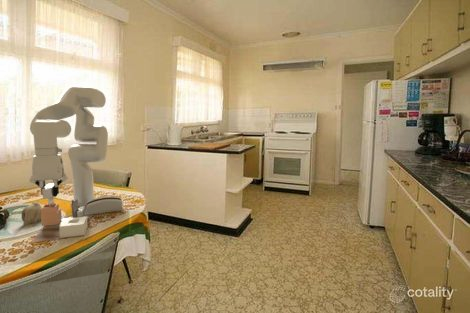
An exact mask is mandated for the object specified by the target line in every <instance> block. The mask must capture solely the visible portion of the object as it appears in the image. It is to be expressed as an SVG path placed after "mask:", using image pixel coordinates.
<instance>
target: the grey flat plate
mask: <svg viewBox="0 0 470 313" xmlns="http://www.w3.org/2000/svg"><path fill="white" fill-rule="evenodd" d="M91 220H92V217H91V216H89V219H88V221H87V225H88V226H89V225H90V222H91ZM41 227H42V228H41V229H40V230H39V231H38V232H37V234H36V235H35V236H34V238H33V239H32V240H31V241H30V243H38V242H47V241H55V240H56V241H57V240H64V239H72V238H73V239H74V238H82V237H85V235H81V236H72V237H64V238H60V229H59V228H55V229H45V230H43V227H44V226H41Z"/></svg>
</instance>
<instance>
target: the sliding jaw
mask: <svg viewBox="0 0 470 313" xmlns="http://www.w3.org/2000/svg"><path fill="white" fill-rule="evenodd" d="M61 219H63V218H62V209H61V208H60V206H59V202H57V203H55V202H54V207H48V203H45V204H43V205H42V206H41V220H40V221H41V227H43V226H48V225H57V224H59V222H60V221H61Z"/></svg>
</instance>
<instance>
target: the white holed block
mask: <svg viewBox="0 0 470 313" xmlns="http://www.w3.org/2000/svg"><path fill="white" fill-rule="evenodd" d="M65 218H66V219H64V220H63V222H62V223H61V225H60V226H59V229H60V238H64V237H72V236H81V235H84V236H85V234H86V232H87V230H88V227H89V225H87V217H76V218H73V217H65Z"/></svg>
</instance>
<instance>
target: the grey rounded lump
mask: <svg viewBox="0 0 470 313" xmlns="http://www.w3.org/2000/svg"><path fill="white" fill-rule="evenodd" d="M41 207H42V206H41V204H40V203H39V202H36V201H33V202H32V204H31V203H30V204H29V205H27V206H25V207H24V208H23V209H22V211H21V220H22V221H23V223H22V224H23V225H24V226H27V225H28V224H29V225H31V224H35V223H38V222H39V221H41Z"/></svg>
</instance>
